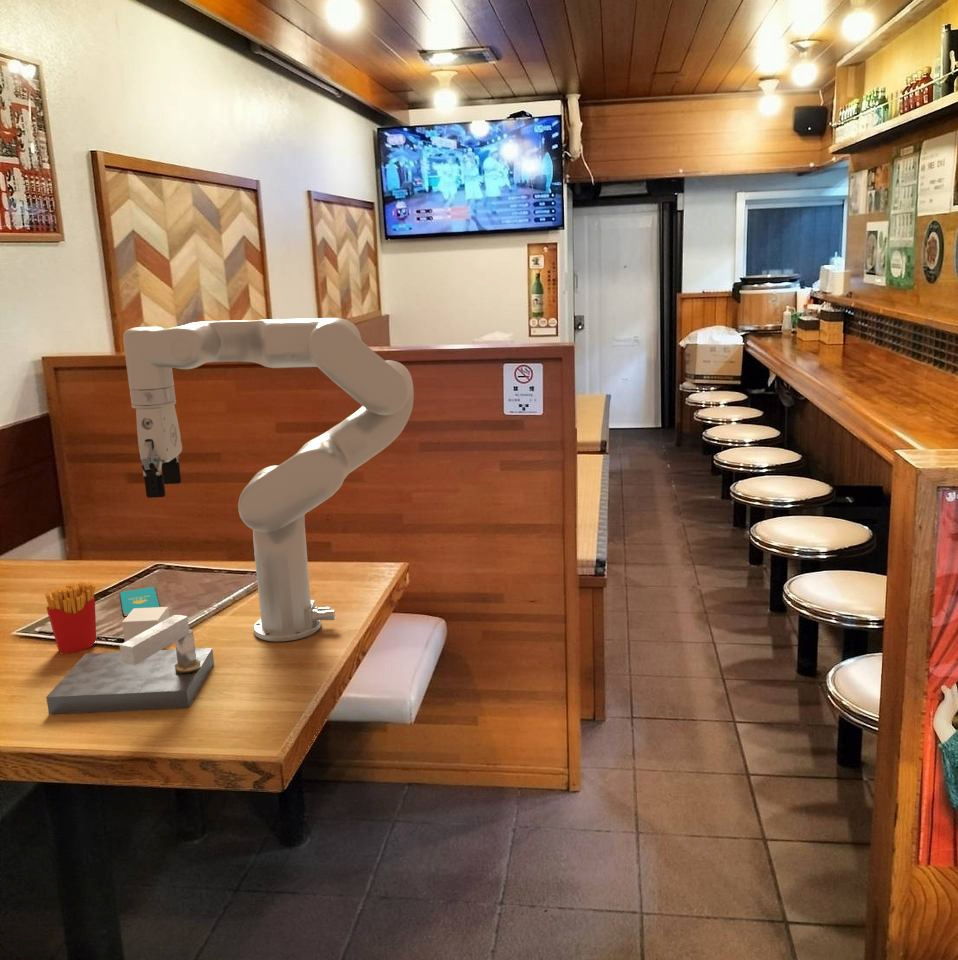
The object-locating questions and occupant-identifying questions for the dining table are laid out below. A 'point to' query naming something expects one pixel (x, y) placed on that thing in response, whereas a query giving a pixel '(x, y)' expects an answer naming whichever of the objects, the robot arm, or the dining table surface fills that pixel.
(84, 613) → the french fries
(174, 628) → the white bent handle
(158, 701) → the base plate
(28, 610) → the dining table surface
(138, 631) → the cover cap
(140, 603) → the smartphone
